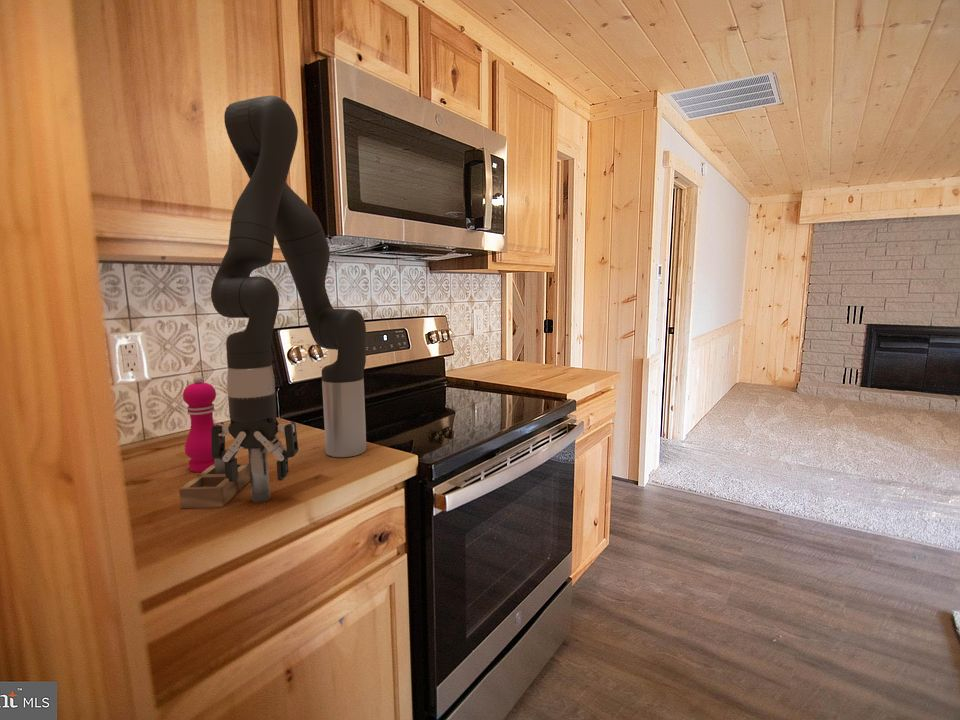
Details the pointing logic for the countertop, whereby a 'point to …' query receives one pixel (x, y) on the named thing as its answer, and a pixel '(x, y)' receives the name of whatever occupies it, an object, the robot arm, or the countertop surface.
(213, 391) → the pepper mill
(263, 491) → the pin
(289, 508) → the countertop surface
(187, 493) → the wooden divided tray
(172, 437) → the countertop surface
